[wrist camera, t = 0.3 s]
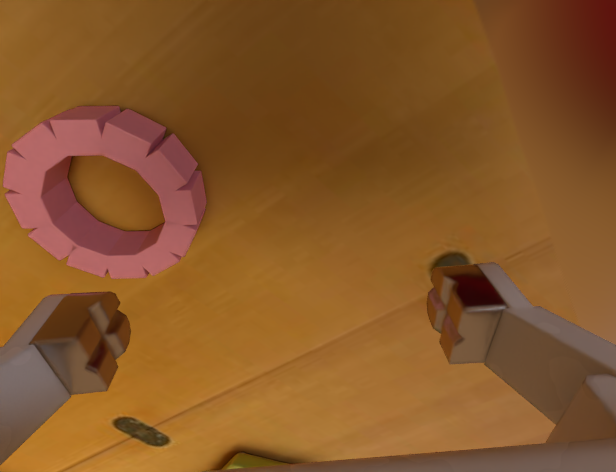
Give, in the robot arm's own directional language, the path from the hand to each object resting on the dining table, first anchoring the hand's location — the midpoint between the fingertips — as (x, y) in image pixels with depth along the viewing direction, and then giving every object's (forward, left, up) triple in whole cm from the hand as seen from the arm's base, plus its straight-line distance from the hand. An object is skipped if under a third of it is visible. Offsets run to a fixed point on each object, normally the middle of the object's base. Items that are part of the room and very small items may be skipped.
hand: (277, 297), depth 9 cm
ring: (+2, -10, -14) cm, 17 cm away
